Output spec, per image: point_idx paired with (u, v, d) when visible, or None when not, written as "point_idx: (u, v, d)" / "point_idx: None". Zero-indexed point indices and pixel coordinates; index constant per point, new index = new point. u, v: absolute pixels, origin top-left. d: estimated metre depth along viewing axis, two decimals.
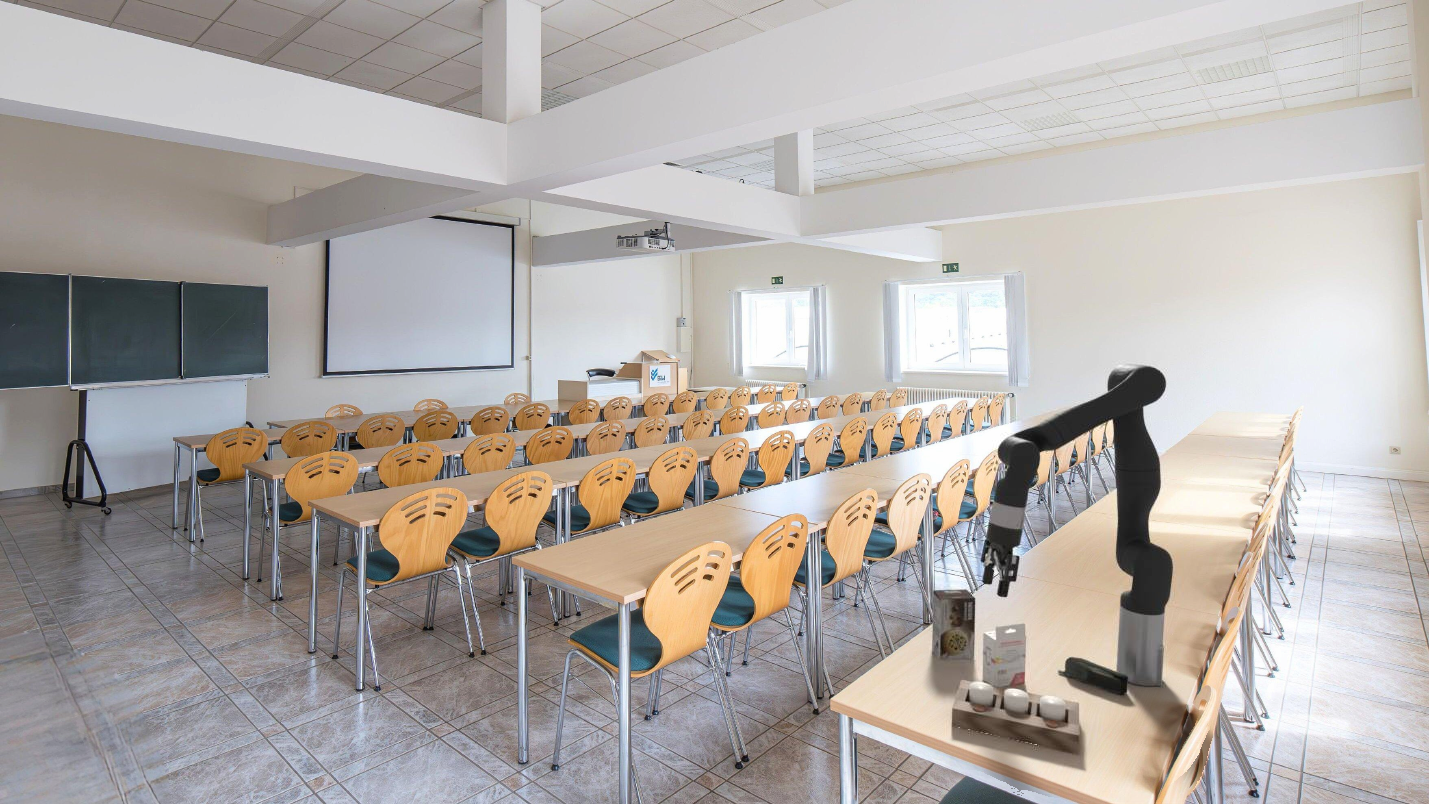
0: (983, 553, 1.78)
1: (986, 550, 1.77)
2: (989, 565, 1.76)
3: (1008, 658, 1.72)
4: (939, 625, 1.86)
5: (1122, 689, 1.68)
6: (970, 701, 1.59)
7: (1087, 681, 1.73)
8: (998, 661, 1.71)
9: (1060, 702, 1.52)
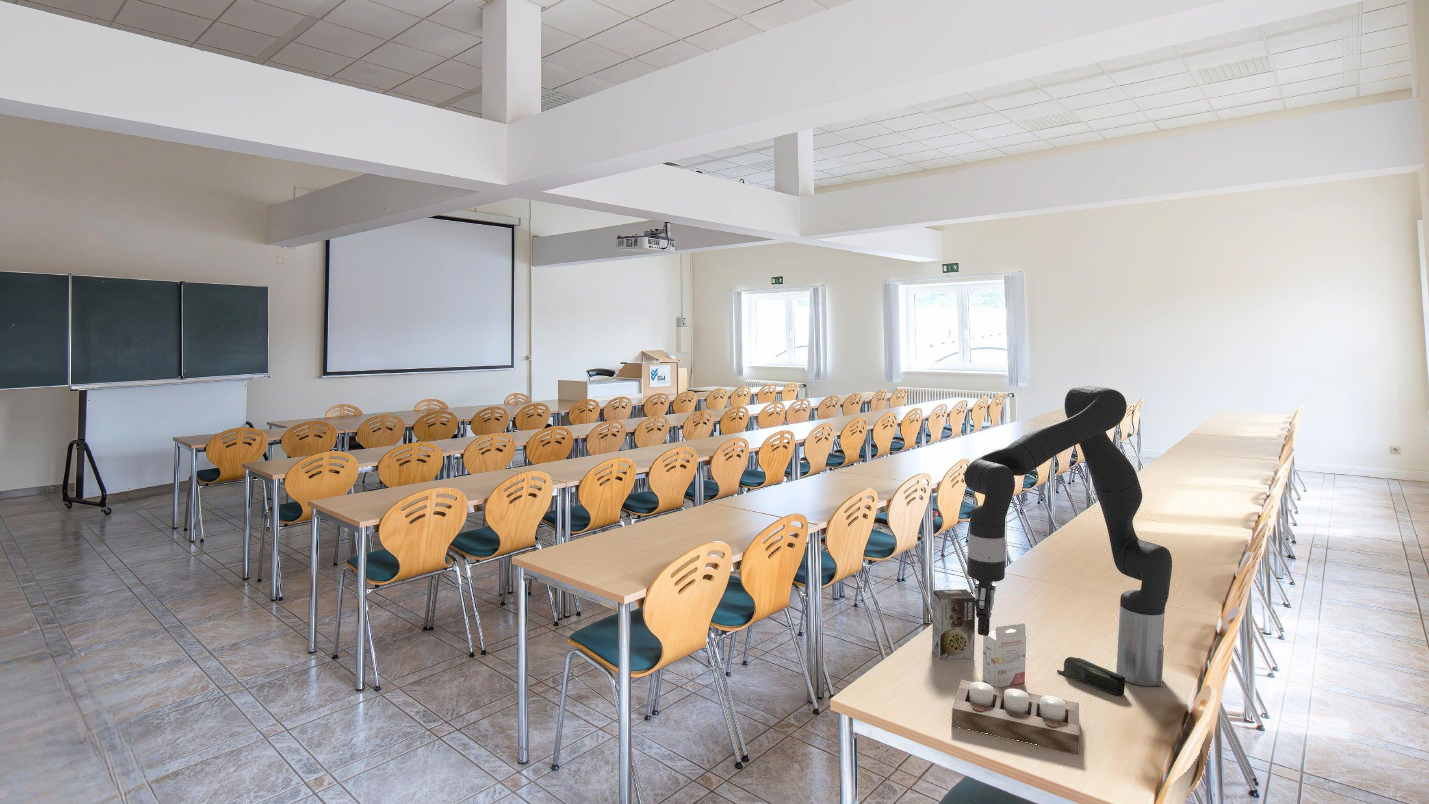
0: None
1: None
2: None
3: (1008, 658, 1.72)
4: (939, 625, 1.86)
5: (1119, 690, 1.67)
6: (970, 701, 1.59)
7: (1085, 681, 1.73)
8: (998, 661, 1.71)
9: (1060, 702, 1.52)
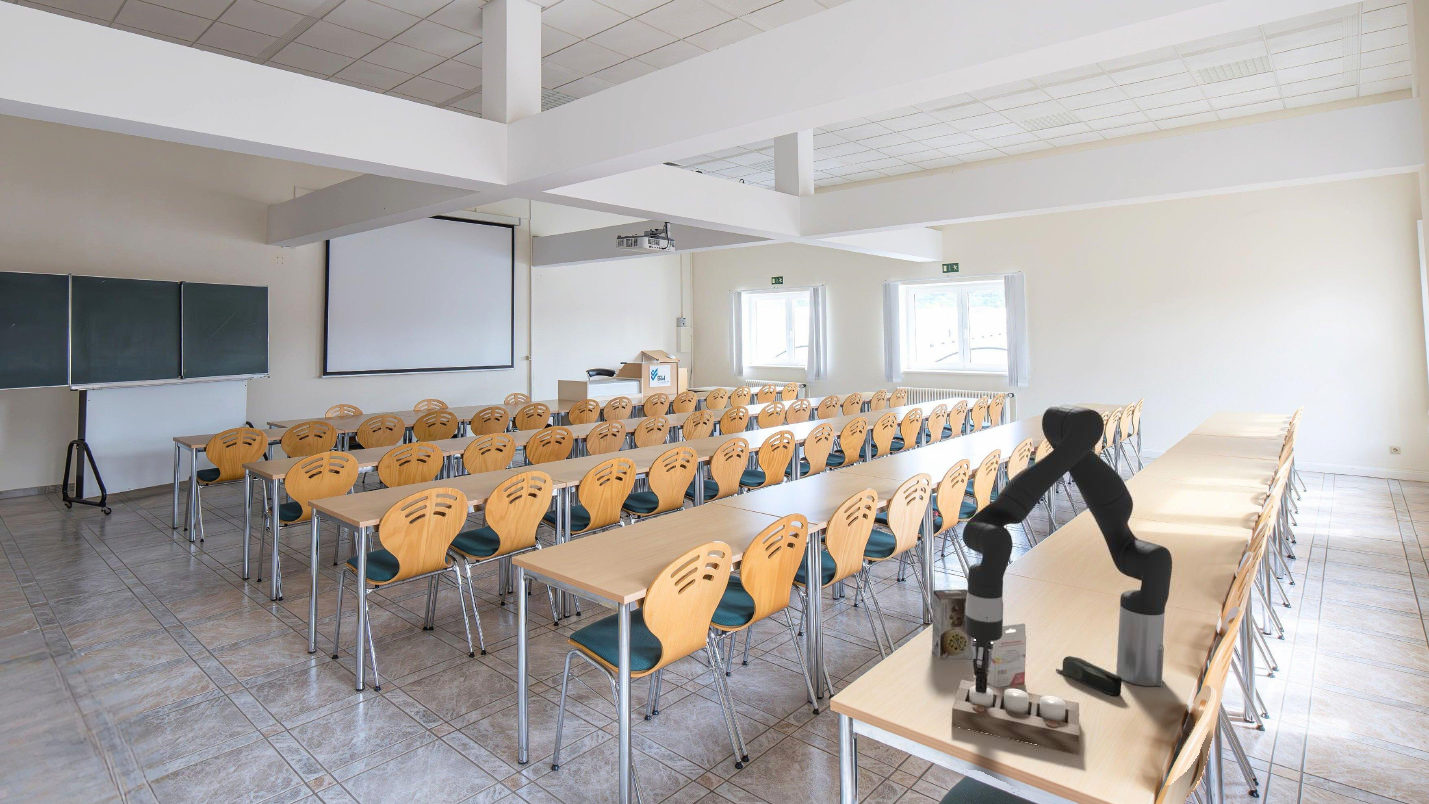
0: None
1: None
2: None
3: (1008, 658, 1.72)
4: (939, 625, 1.86)
5: (1115, 690, 1.67)
6: None
7: (1082, 680, 1.73)
8: (998, 661, 1.71)
9: (1060, 702, 1.52)
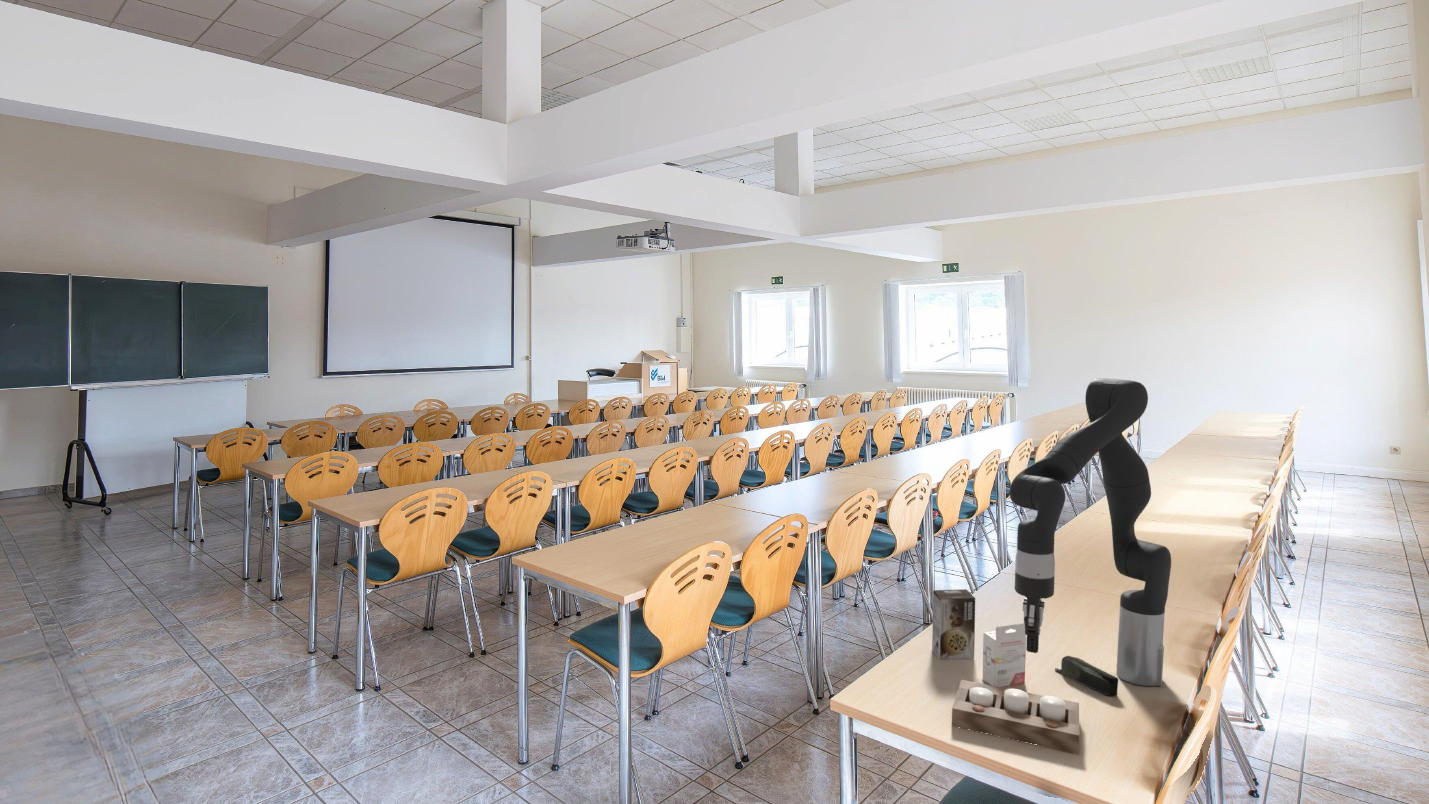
0: None
1: None
2: None
3: (1008, 658, 1.72)
4: (939, 625, 1.86)
5: (1110, 691, 1.67)
6: None
7: (1079, 680, 1.73)
8: (998, 661, 1.71)
9: (1060, 702, 1.52)
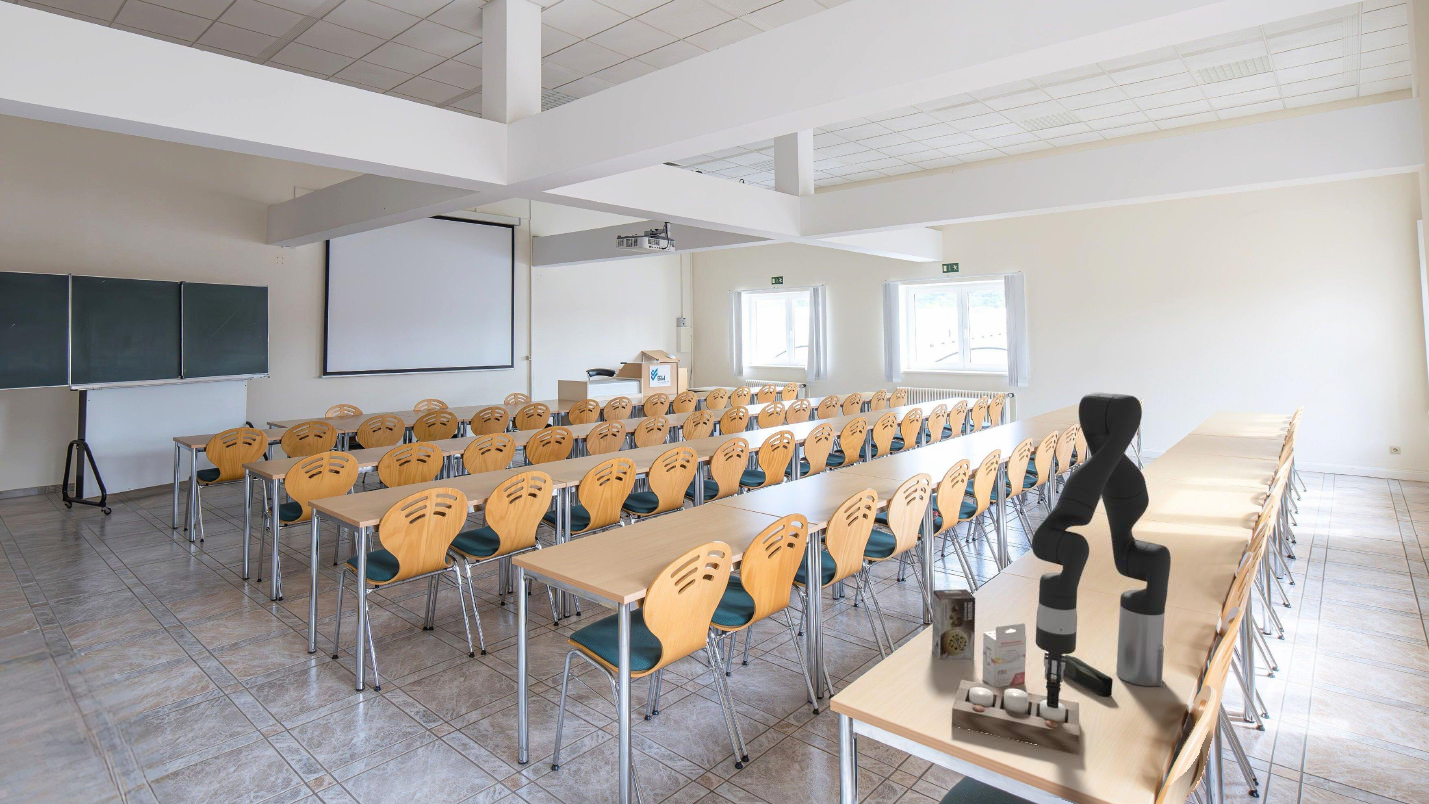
0: None
1: None
2: None
3: (1008, 658, 1.72)
4: (939, 625, 1.86)
5: (1104, 691, 1.67)
6: None
7: (1075, 679, 1.74)
8: (998, 661, 1.71)
9: (1060, 706, 1.52)
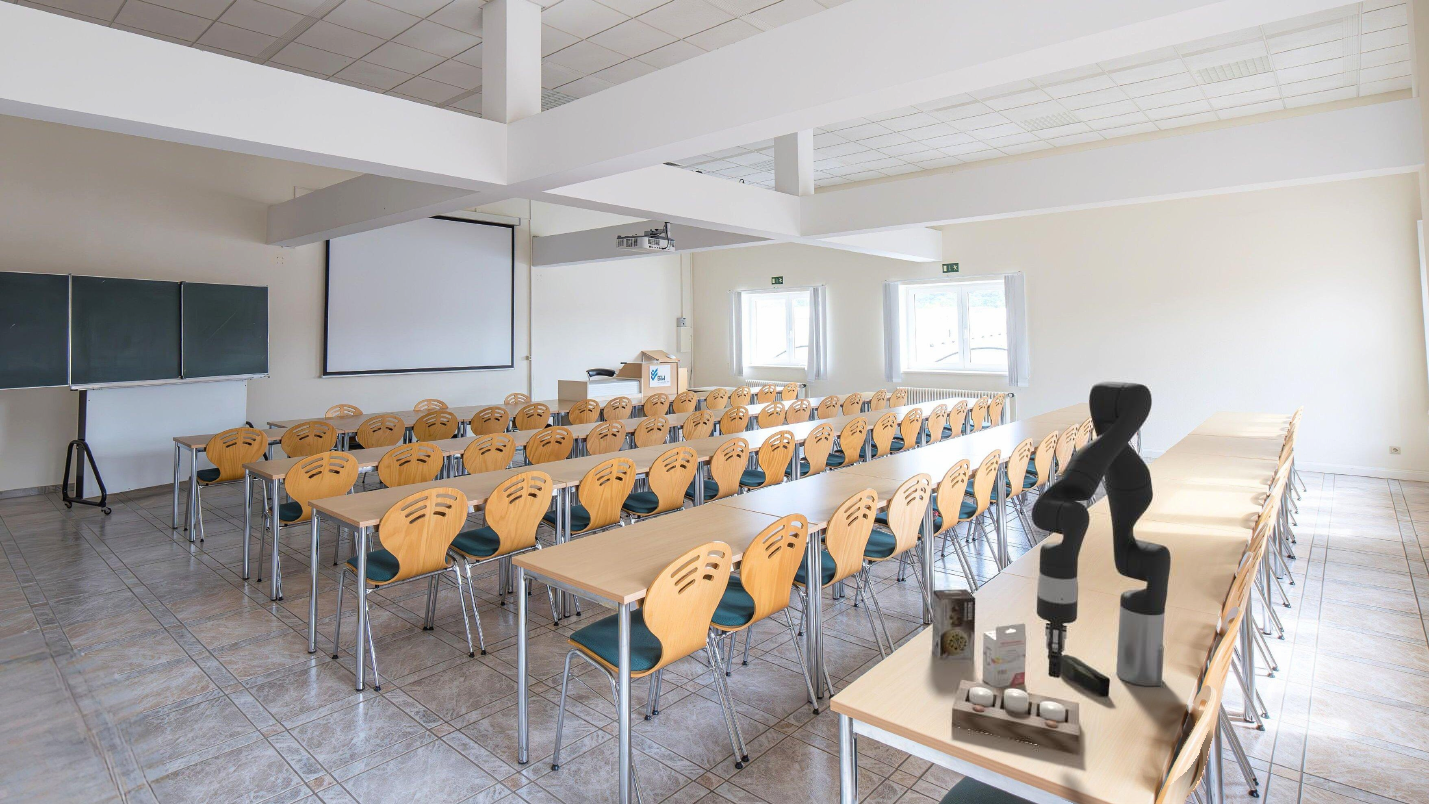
0: None
1: None
2: None
3: (1008, 658, 1.72)
4: (939, 625, 1.86)
5: (1101, 690, 1.67)
6: None
7: (1073, 679, 1.74)
8: (998, 661, 1.71)
9: (1060, 708, 1.52)
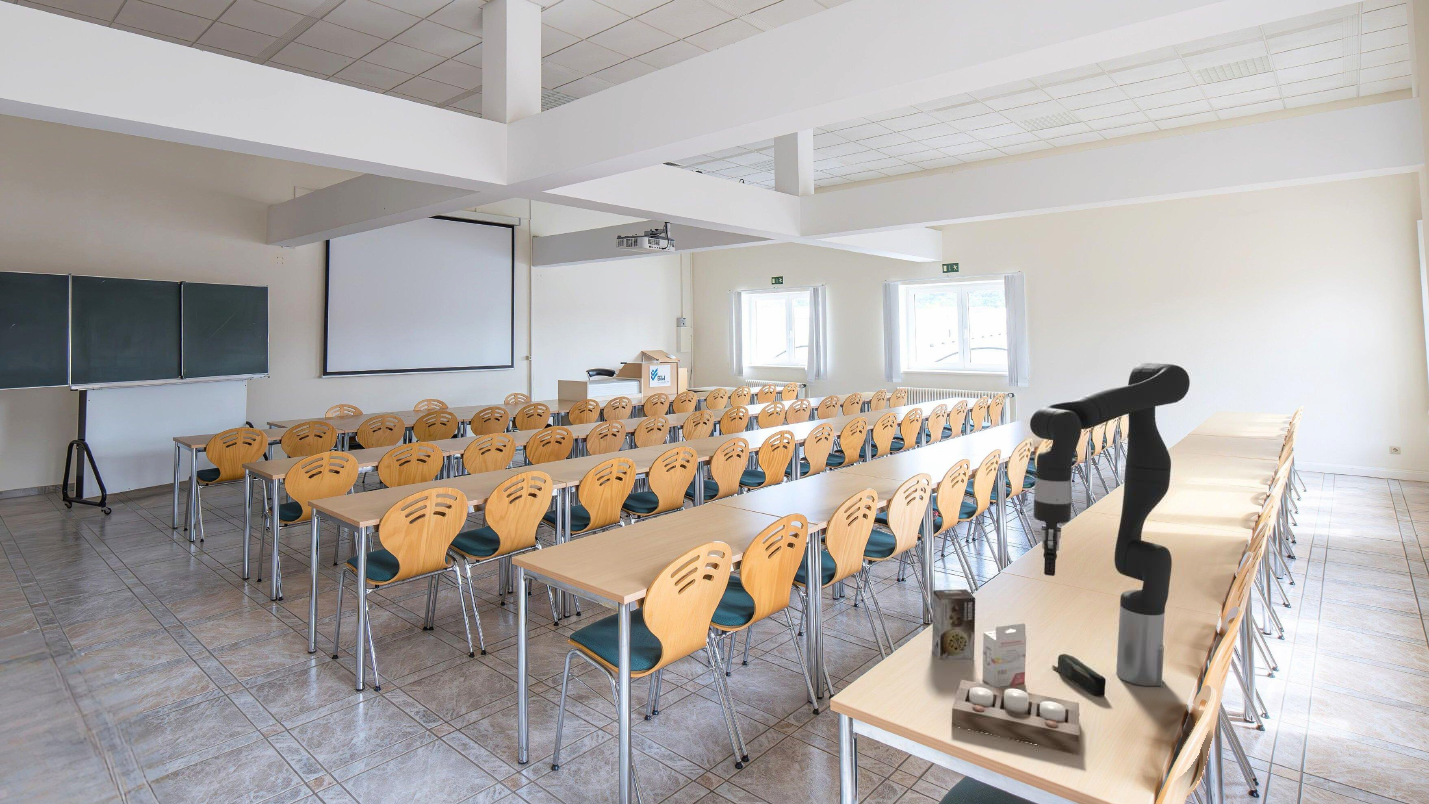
0: None
1: None
2: None
3: (1008, 658, 1.72)
4: (939, 625, 1.86)
5: (1097, 690, 1.67)
6: None
7: (1071, 678, 1.74)
8: (998, 661, 1.71)
9: (1060, 708, 1.52)
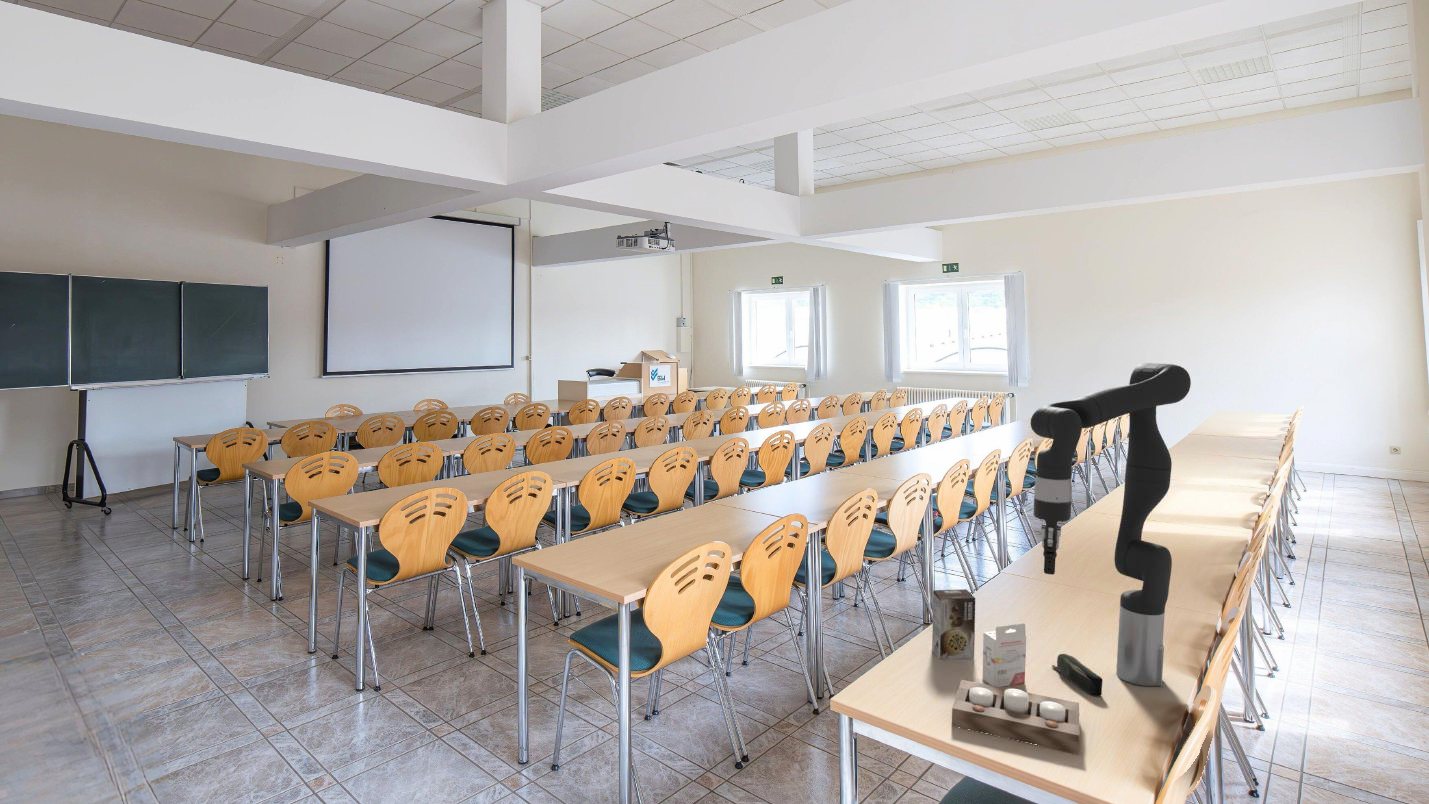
0: None
1: None
2: None
3: (1008, 658, 1.72)
4: (939, 625, 1.86)
5: (1093, 690, 1.67)
6: None
7: (1069, 678, 1.75)
8: (998, 661, 1.71)
9: (1060, 708, 1.52)
